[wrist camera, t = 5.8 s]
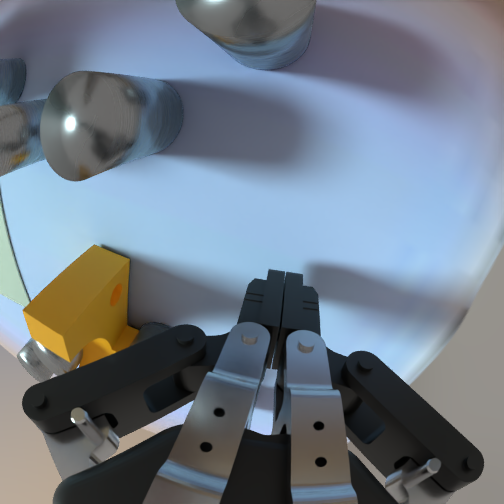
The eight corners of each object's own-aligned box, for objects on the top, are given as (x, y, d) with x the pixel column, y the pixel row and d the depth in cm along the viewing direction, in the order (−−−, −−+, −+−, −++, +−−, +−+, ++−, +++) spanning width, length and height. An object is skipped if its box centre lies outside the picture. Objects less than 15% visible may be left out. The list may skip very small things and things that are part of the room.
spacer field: (4, 66, 9) (-48, 74, 5) (312, 3, 7) (320, -58, 3) (53, 341, 21) (28, 374, 17) (253, 406, 20) (243, 459, 15)
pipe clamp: (146, 381, 20) (119, 443, 14) (102, 361, 20) (69, 417, 14) (157, 270, 14) (97, 355, 9) (94, 244, 14) (22, 310, 9)
